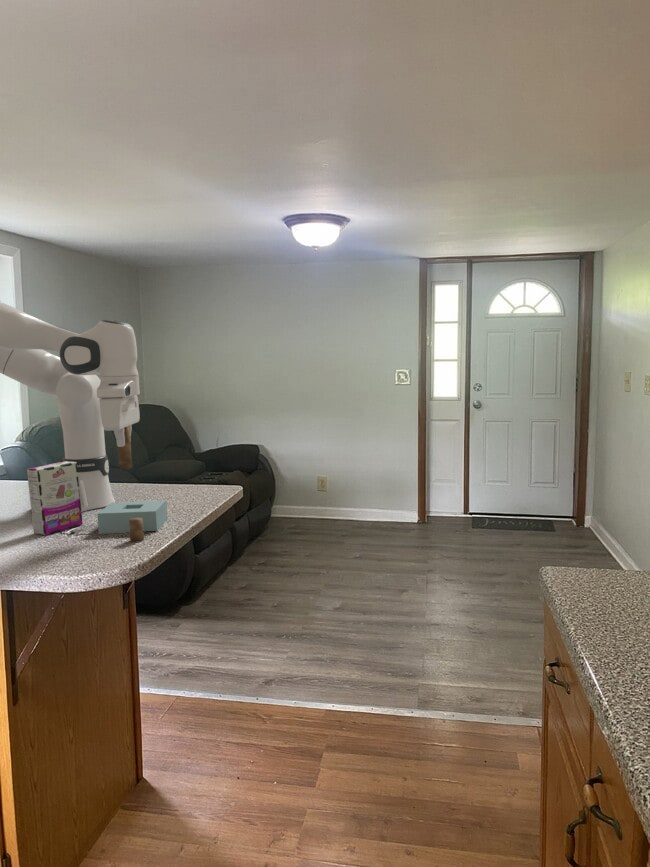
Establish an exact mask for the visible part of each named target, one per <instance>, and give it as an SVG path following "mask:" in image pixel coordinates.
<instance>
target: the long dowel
mask: <svg viewBox="0 0 650 867" xmlns="http://www.w3.org/2000/svg"><path fill="white" fill-rule="evenodd" d="M124 437H125V439H126V445H125V446H123V447H118V446H117V452H118V454H117V455H118V466H119V467H118V468H119V469H121V470H127V469H129V470H130V469H132V468H133V461H132V444H131V442H132V441H131V442H130V437H131V436H130V426H127V427H125V428H124Z"/></svg>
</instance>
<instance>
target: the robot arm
mask: <svg viewBox="0 0 650 867" xmlns="http://www.w3.org/2000/svg"><path fill="white" fill-rule="evenodd" d="M136 339H137V338H136V334H135V330H134V328H133V326H132V325H131V324H129V323H128V322H126V321H119V320H112V319H111V320H110V319H103V320H100V321H98V323H97V324H96V325H95V326H93V327H92V328H90V329H88V330H87V331H84V332H82V333H80V332H76V331H73V330H70V329H66V328H62V327H60V326H58V325H54V324H51V323H49V322H47V321H44V320H43V319H40V318H37V317H35V316H33V315H31V314H29V313H27V312H25V311H22V310H20V309H19V308H16V307H14V306H11V305H9V304H7V303H4V302H1V301H0V374H2V375H4V376H6V377H8V378H10V379H12V380H14V381H16V382H18V383H21V384H23V385H24V386H26V387H28V388H30V389H34V390H37V391H40V392H41V393H44V394H46V395H49V396H52V397H54V398H56V402H57V408H58V413H59V420H60V422H61V428H62V429H61V430H62V436H63V446H64V448H63V449H64V457H63V458H62V459H61V460H58V462H57V463H60V462H65V461H68V462H69V461H70V462H77V472H78V481H79V493H80V502H81V512H85V511H90V510H94V509H100V508H105V507H107V506H108V505H109V504H111V503H112V502H116V500H115V498H114V494H113V492H112V487H111V482H110V480H109V479H110V478H109V473H110V472H109V470H110V468H109V467H110V466H109V459H108V455H107V453H106V441H105V431H113V434H114V436H115V439H116V440H115V441H116V447H117V448H118V447H123V446H125V445H126V439H125V437H124V428H125V427H127V426H130V442H132V440H131V436H132V429H133V428H132V425H134V424H136V423H137V424H138V423H139V422H140V420H141V418H140V416H141V415H140V413H141V412H140V407H139V406H140V405H139V398H138V396H139V395H140V394H141V393H140V392H141V391H140V377H139V376H140V374H139V371H138V368H137V362H138V348H137V340H136ZM48 351H52V352H55V353H59V356H57V355H56V354H52V353H51V352H48ZM98 375H99V376H100V377H99V376H98Z"/></svg>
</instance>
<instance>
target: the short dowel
mask: <svg viewBox="0 0 650 867" xmlns="http://www.w3.org/2000/svg"><path fill="white" fill-rule="evenodd" d="M129 526H130V533H129V538H130V539H129V540H130V542H131V541H132V542H131V543H137V542H136V541H140V542H143V541H144V540H145V536H144V535H145V534H144V533H145V532H143V518H140V517H137V518H131V519H129ZM142 540H143V541H142Z"/></svg>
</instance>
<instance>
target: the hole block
mask: <svg viewBox="0 0 650 867" xmlns="http://www.w3.org/2000/svg"><path fill="white" fill-rule="evenodd" d="M167 503H168V502H167V500H163V499H162V500H142V501H140V500H139V501H117V502H116V501H115V502H112V503H111V504H109V505H108V506H105V507H103V508H102V509H101V510H100V511H99V512H98V513H97V514H96V515H97V524H98V525H97V527H98V528H97V529H98V535H99V534H100V535H102V534H103V535H104V534H125V533H126V532H130V526H129V519H131V518H137V517H140V518H143V531H156V532H158V531H159V530H160V529H161V528H160V527H163V525H164V524H165V523H166V522H167V521H168V519H169V518H168V504H167ZM165 521H166V522H165ZM164 522H165V523H164Z"/></svg>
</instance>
